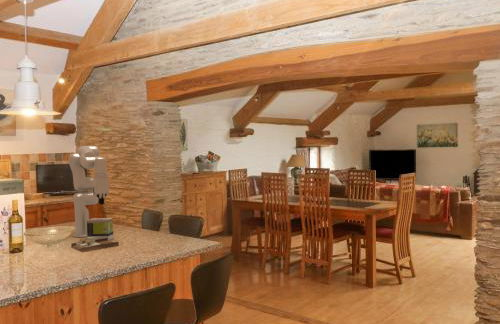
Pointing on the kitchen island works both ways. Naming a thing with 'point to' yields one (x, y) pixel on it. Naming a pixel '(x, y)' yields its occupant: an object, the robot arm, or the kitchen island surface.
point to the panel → (86, 243)
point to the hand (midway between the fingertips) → (101, 204)
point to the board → (103, 244)
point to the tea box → (100, 228)
